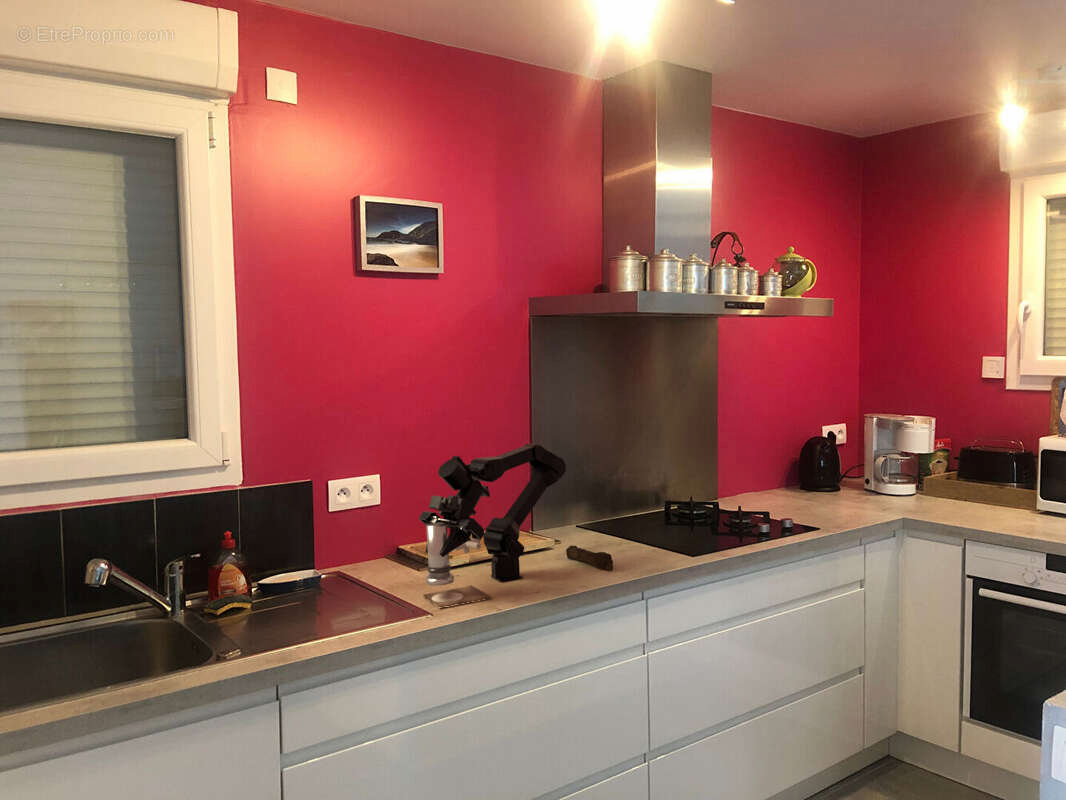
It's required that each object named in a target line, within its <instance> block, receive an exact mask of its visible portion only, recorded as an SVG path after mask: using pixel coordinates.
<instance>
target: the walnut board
mask: <svg viewBox="0 0 1066 800" xmlns="http://www.w3.org/2000/svg"><path fill="white" fill-rule="evenodd" d="M422 597H425V598H426V599H428V600H430V601H431V602H433V603H434V604H436V605H437V606H438V607H444V606H451V605H455V604H462V603H467V602H472V601H478V600H483V599H489V600H491V595H489V594H487V593H485V592H484V591H482V590H480V589H479V588H477V587H475V586H474V585H468V586H463V587H456V588H452V589H446V590H440V591H435V592H430V593H429V592H428V593H426V594H425V593H424V594H423V596H422ZM426 599H425V600H426Z"/></svg>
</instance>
